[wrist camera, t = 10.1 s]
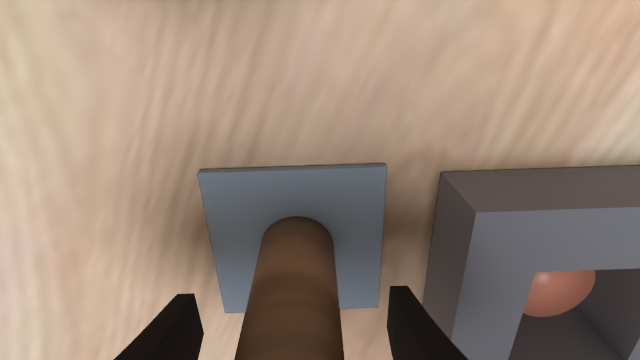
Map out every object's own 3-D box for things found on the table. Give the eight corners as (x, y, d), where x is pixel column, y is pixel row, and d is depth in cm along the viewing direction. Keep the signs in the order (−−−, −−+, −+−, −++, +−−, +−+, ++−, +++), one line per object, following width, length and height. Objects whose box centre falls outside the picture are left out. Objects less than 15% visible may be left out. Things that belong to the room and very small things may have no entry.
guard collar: (604, 338, 20) (661, 398, 16) (416, 345, 19) (437, 408, 16) (687, 163, 15) (789, 201, 12) (440, 171, 15) (476, 212, 12)
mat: (376, 301, 18) (378, 307, 18) (226, 307, 18) (224, 313, 18) (385, 163, 15) (386, 166, 14) (200, 169, 14) (197, 173, 14)
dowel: (331, 275, 17) (345, 451, 10) (262, 274, 17) (228, 452, 10) (335, 216, 15) (354, 376, 8) (259, 215, 15) (216, 375, 8)
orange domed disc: (564, 297, 18) (581, 315, 17) (493, 300, 18) (505, 318, 17) (587, 237, 16) (606, 253, 15) (508, 240, 16) (522, 256, 15)
